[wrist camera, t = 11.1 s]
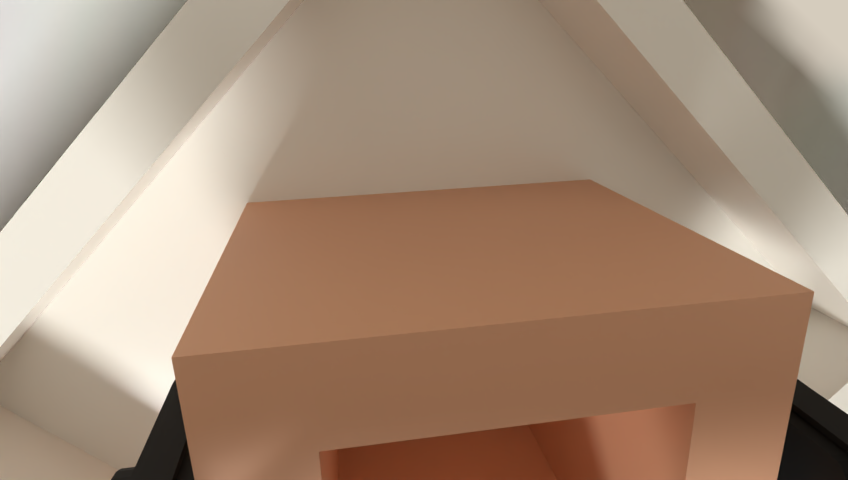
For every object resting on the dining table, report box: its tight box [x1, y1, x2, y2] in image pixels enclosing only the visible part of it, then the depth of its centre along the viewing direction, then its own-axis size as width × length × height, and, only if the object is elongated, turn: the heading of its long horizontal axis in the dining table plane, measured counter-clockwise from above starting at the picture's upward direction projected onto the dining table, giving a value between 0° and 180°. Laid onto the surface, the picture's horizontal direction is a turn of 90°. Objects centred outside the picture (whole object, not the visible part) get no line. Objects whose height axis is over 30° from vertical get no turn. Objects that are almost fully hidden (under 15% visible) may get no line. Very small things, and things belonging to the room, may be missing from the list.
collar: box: [171, 179, 814, 480], centre depth 10 cm, size 7×7×6 cm
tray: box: [0, 0, 848, 480], centre depth 12 cm, size 15×15×3 cm
